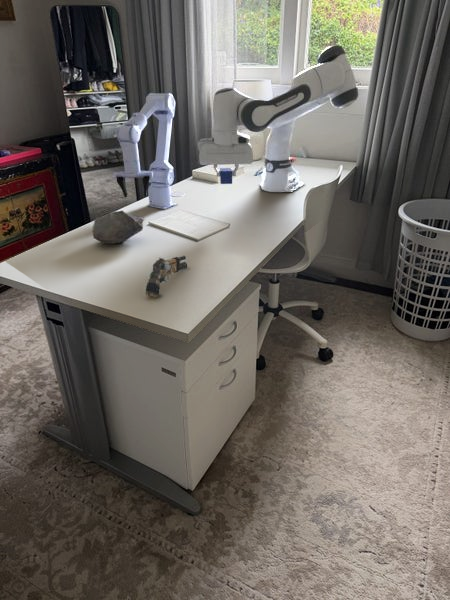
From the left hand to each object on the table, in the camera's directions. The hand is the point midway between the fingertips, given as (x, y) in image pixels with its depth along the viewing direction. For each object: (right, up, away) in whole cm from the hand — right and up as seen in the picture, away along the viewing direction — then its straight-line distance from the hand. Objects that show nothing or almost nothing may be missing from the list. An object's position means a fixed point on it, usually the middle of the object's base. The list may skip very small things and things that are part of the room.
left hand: (135, 196), depth 164 cm
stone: (-2, -20, -15) cm, 25 cm away
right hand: (+35, +7, -3) cm, 36 cm away
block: (+35, +5, -2) cm, 36 cm away
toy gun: (+18, -36, -43) cm, 58 cm away
